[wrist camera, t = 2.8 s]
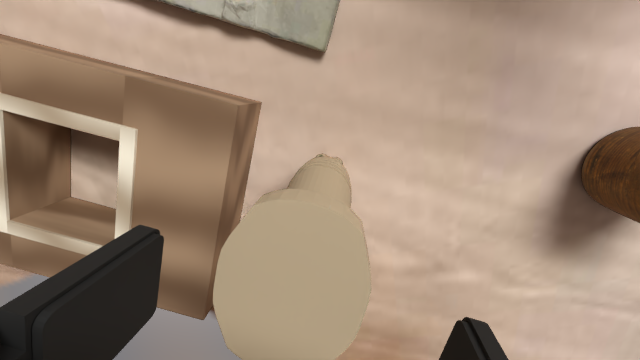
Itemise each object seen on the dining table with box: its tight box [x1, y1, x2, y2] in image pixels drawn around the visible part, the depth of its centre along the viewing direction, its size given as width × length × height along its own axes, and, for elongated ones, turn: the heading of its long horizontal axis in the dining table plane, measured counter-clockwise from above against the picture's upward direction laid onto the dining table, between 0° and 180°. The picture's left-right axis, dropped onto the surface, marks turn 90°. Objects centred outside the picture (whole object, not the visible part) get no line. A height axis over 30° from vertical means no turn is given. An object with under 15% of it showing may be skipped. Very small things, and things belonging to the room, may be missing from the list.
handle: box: [213, 154, 371, 360], centre depth 17 cm, size 5×6×15 cm
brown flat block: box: [0, 34, 262, 320], centre depth 23 cm, size 16×22×5 cm
